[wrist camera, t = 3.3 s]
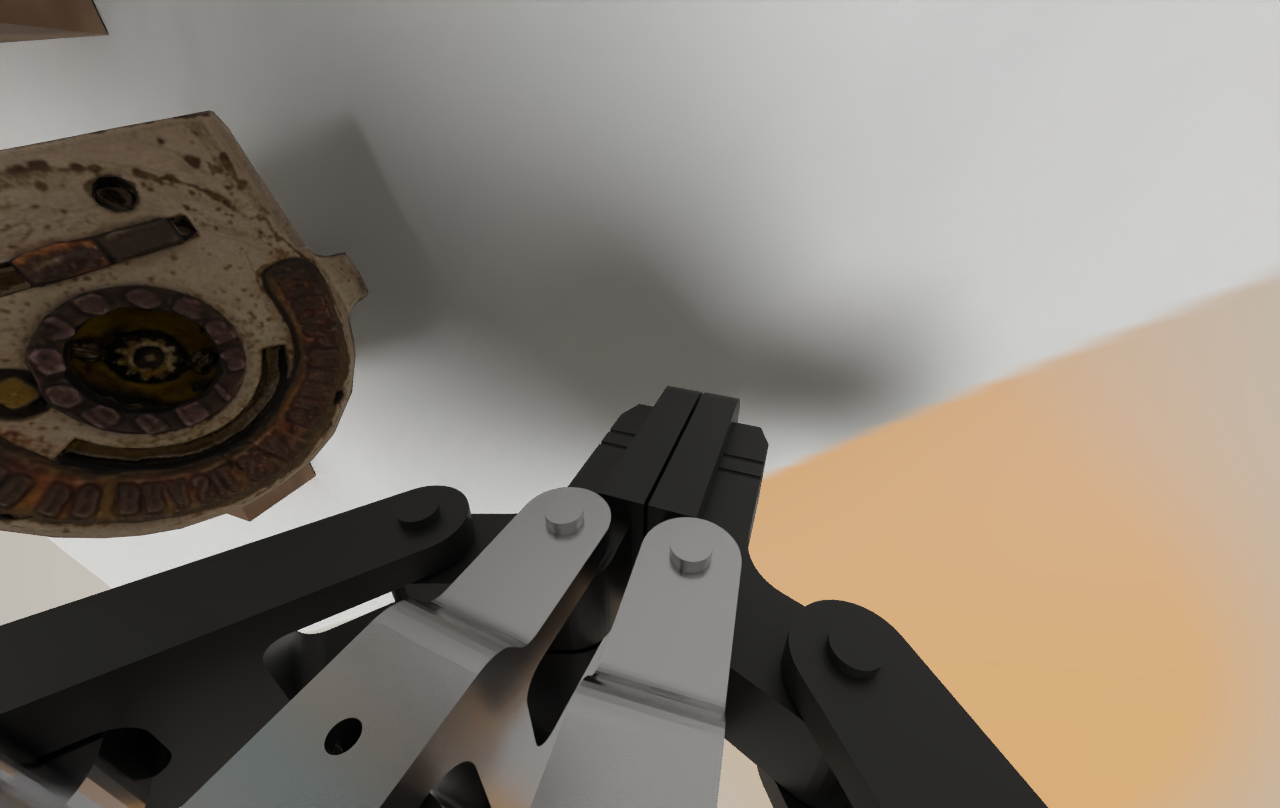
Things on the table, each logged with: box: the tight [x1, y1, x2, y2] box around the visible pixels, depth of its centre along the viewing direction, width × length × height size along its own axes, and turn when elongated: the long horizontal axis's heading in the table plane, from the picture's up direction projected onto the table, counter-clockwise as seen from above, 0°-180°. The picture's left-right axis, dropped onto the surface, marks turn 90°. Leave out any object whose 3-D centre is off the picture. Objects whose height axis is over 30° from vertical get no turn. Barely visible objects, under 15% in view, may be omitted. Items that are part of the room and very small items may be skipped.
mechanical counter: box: [0, 111, 368, 538], centre depth 11 cm, size 7×13×10 cm, turn 121°
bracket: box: [0, 0, 315, 521], centre depth 17 cm, size 18×12×3 cm
